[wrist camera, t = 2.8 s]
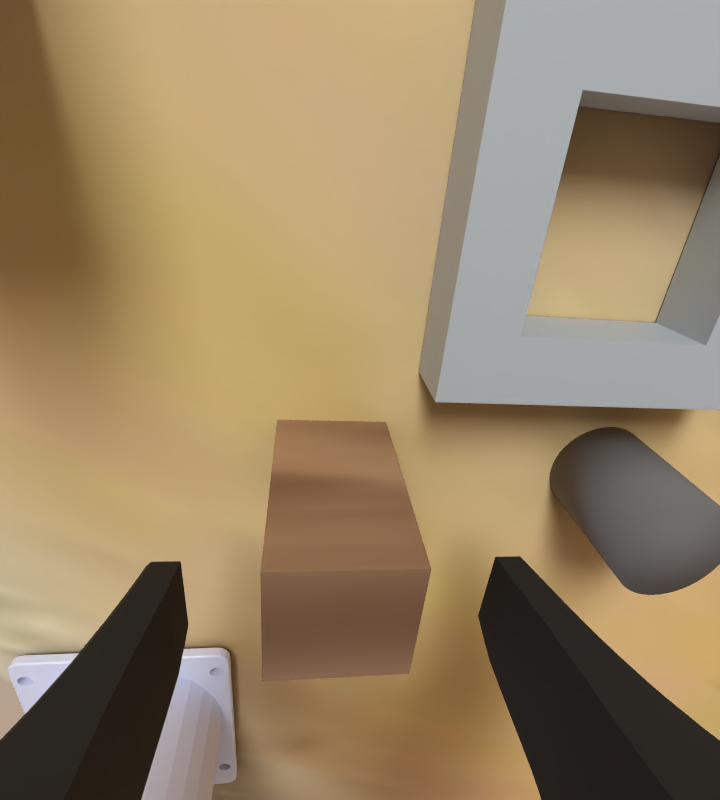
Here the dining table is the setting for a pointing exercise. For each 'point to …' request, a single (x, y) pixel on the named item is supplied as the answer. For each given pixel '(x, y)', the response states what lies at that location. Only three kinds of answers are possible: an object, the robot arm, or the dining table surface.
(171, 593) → the robot arm
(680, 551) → the rubber stub
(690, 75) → the bore block
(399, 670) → the block
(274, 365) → the dining table surface
